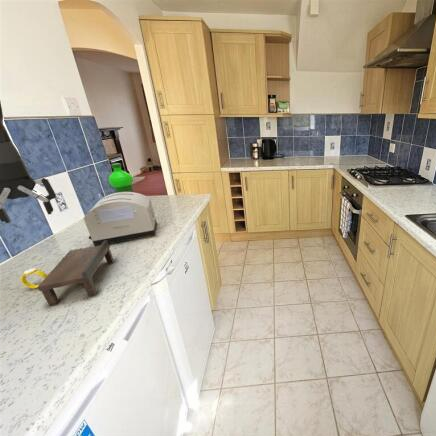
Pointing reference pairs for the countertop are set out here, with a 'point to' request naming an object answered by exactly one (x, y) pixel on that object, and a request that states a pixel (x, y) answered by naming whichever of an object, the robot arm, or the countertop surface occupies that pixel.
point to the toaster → (121, 218)
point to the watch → (28, 272)
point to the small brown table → (76, 271)
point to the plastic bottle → (120, 179)
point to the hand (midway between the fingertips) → (29, 217)
